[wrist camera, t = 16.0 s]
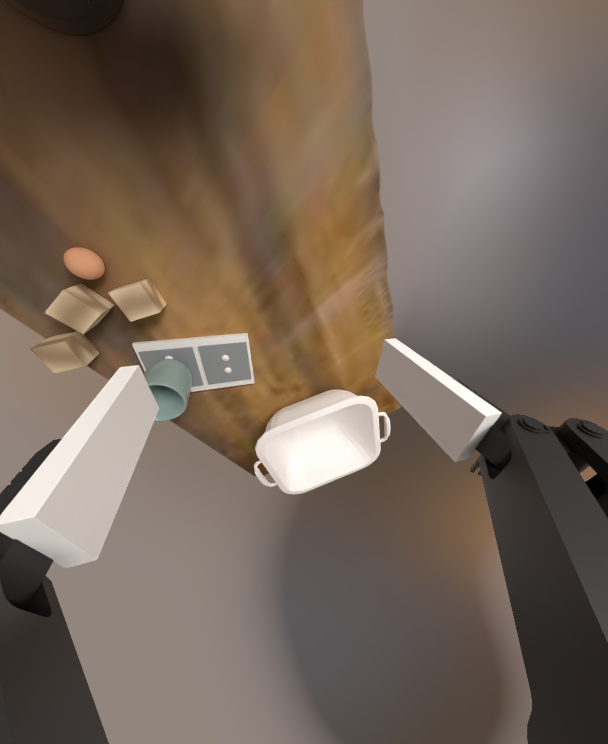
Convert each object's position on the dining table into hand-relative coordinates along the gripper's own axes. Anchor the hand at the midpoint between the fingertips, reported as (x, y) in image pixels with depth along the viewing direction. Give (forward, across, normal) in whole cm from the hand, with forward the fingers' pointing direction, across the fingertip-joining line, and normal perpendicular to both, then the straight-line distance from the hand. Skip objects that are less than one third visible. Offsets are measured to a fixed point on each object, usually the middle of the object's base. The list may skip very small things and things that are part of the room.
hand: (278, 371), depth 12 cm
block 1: (+32, -25, -4) cm, 41 cm away
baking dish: (+32, +13, -38) cm, 51 cm away
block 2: (+27, -30, -11) cm, 42 cm away
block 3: (+32, -17, -3) cm, 36 cm away
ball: (+32, -22, +2) cm, 39 cm away
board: (+32, -12, -17) cm, 38 cm away
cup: (+31, -16, -17) cm, 39 cm away
